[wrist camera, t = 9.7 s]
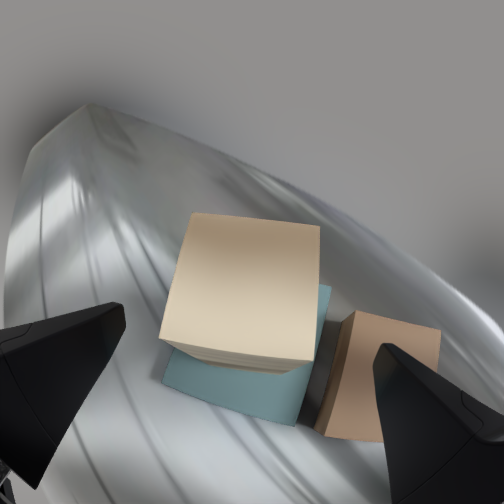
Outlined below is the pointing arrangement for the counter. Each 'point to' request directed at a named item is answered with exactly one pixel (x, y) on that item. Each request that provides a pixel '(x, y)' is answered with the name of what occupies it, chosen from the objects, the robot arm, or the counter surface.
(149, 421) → the counter surface
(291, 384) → the teal mat
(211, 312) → the maple block
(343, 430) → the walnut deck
